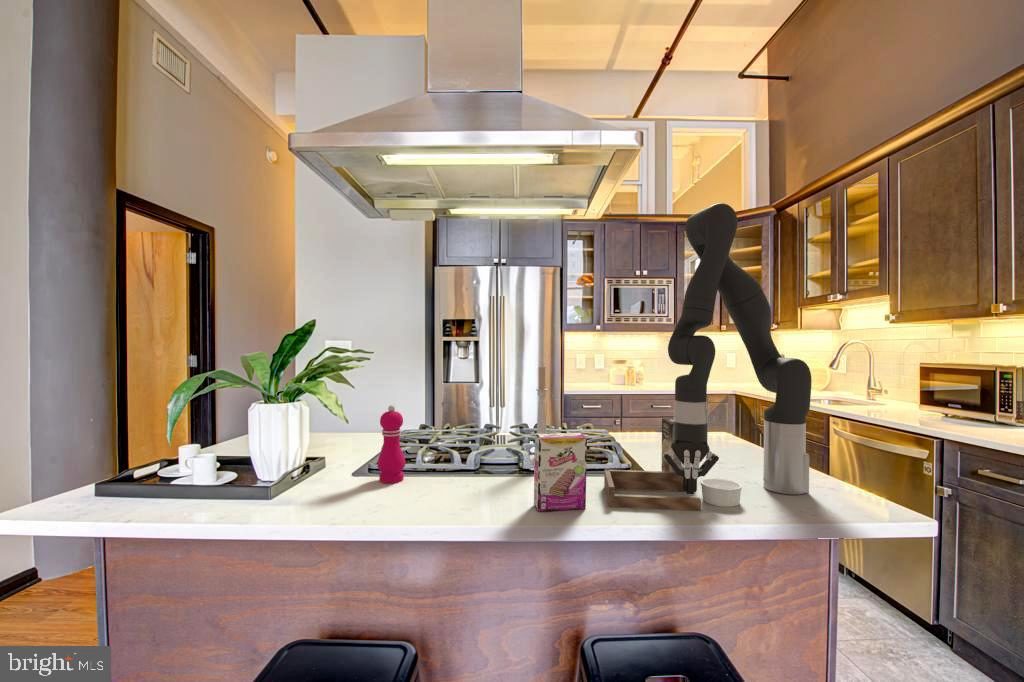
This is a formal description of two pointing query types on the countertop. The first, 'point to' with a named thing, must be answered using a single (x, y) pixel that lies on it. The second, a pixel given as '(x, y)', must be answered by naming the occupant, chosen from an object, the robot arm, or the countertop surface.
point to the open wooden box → (647, 482)
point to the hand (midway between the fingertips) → (689, 493)
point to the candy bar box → (560, 471)
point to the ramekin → (721, 492)
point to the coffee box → (668, 443)
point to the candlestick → (541, 407)
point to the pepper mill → (391, 448)
